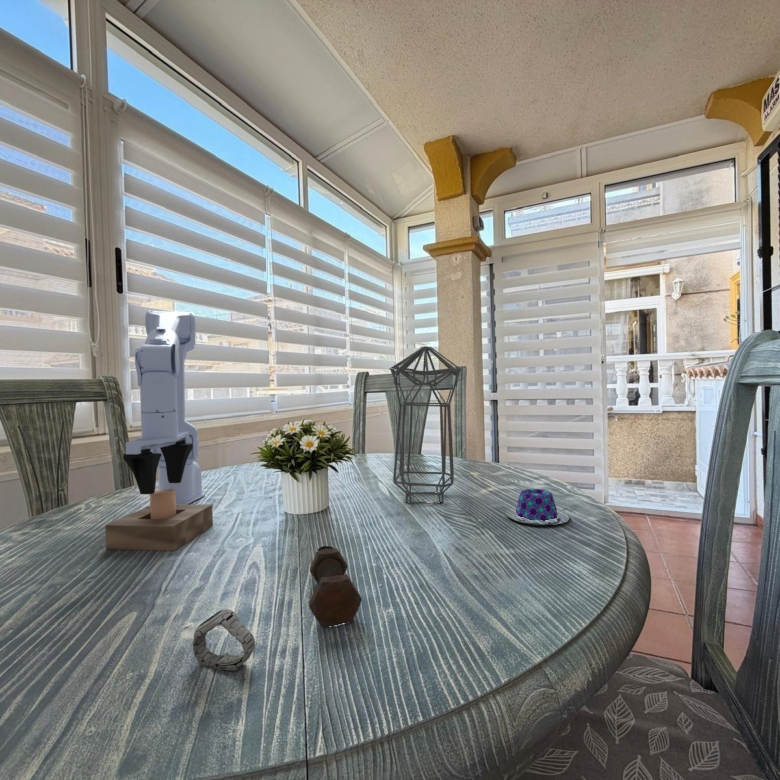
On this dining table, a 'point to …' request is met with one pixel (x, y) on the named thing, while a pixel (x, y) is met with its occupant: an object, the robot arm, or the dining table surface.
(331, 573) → the bolt
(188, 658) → the dining table surface
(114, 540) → the socket block
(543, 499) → the pudding
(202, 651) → the wristwatch
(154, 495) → the peg
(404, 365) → the geometric lantern
